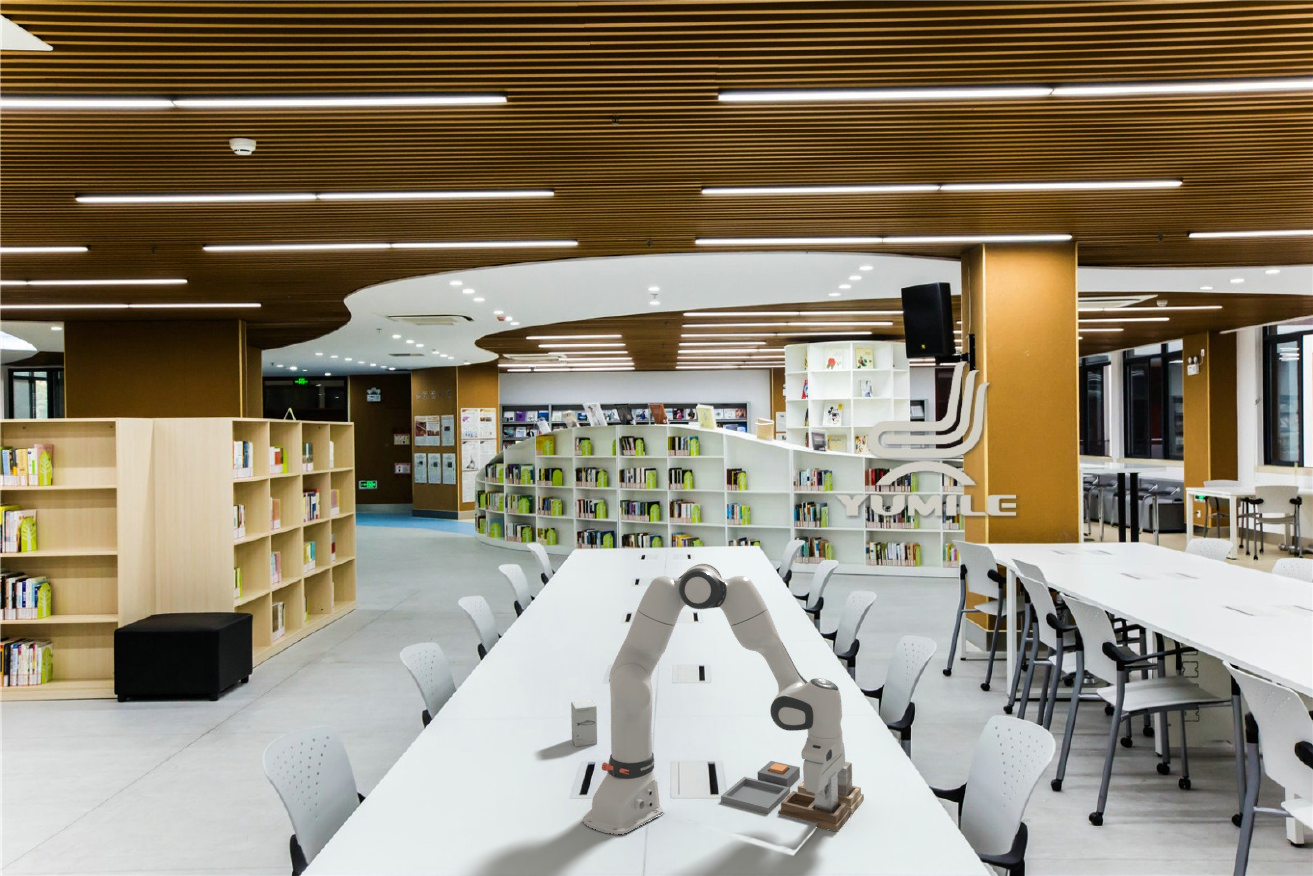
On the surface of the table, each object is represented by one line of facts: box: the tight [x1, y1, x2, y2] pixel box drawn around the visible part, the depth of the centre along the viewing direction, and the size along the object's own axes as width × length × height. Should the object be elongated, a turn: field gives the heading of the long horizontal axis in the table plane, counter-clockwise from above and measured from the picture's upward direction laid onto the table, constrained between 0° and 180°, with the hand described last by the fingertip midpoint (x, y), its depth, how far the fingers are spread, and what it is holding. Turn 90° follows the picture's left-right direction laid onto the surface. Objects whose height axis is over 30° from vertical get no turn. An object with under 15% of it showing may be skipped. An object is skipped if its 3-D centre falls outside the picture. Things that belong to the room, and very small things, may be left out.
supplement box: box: [570, 699, 598, 747], centre depth 265 cm, size 7×7×13 cm
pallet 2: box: [777, 790, 851, 833], centre depth 210 cm, size 10×16×4 cm, turn 57°
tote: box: [720, 776, 791, 815], centre depth 220 cm, size 14×14×2 cm
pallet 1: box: [797, 761, 865, 815], centre depth 220 cm, size 10×16×10 cm, turn 57°
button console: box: [757, 760, 801, 788], centre depth 230 cm, size 9×9×4 cm
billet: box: [815, 772, 838, 813], centre depth 209 cm, size 4×5×9 cm
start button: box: [769, 763, 788, 775], centre depth 230 cm, size 4×4×3 cm
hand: (826, 796), depth 209 cm, fingers closed on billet, 4 cm apart
